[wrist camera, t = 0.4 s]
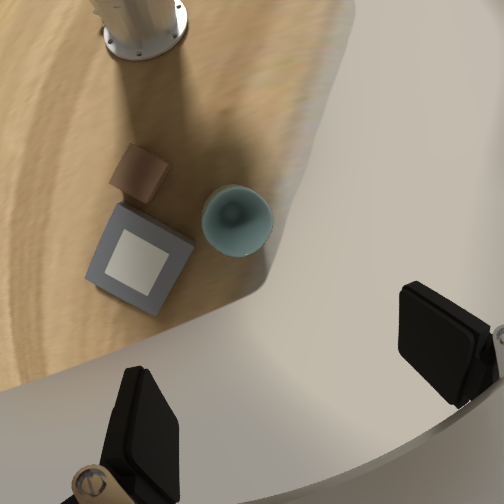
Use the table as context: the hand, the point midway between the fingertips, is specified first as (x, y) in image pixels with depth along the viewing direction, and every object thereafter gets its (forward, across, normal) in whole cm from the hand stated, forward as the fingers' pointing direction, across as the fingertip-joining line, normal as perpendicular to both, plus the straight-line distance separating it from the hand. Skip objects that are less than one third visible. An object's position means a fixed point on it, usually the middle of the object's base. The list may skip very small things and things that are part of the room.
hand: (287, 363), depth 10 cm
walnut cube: (+34, +9, -8) cm, 36 cm away
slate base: (+34, +13, +3) cm, 36 cm away
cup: (+34, -1, 0) cm, 34 cm away
